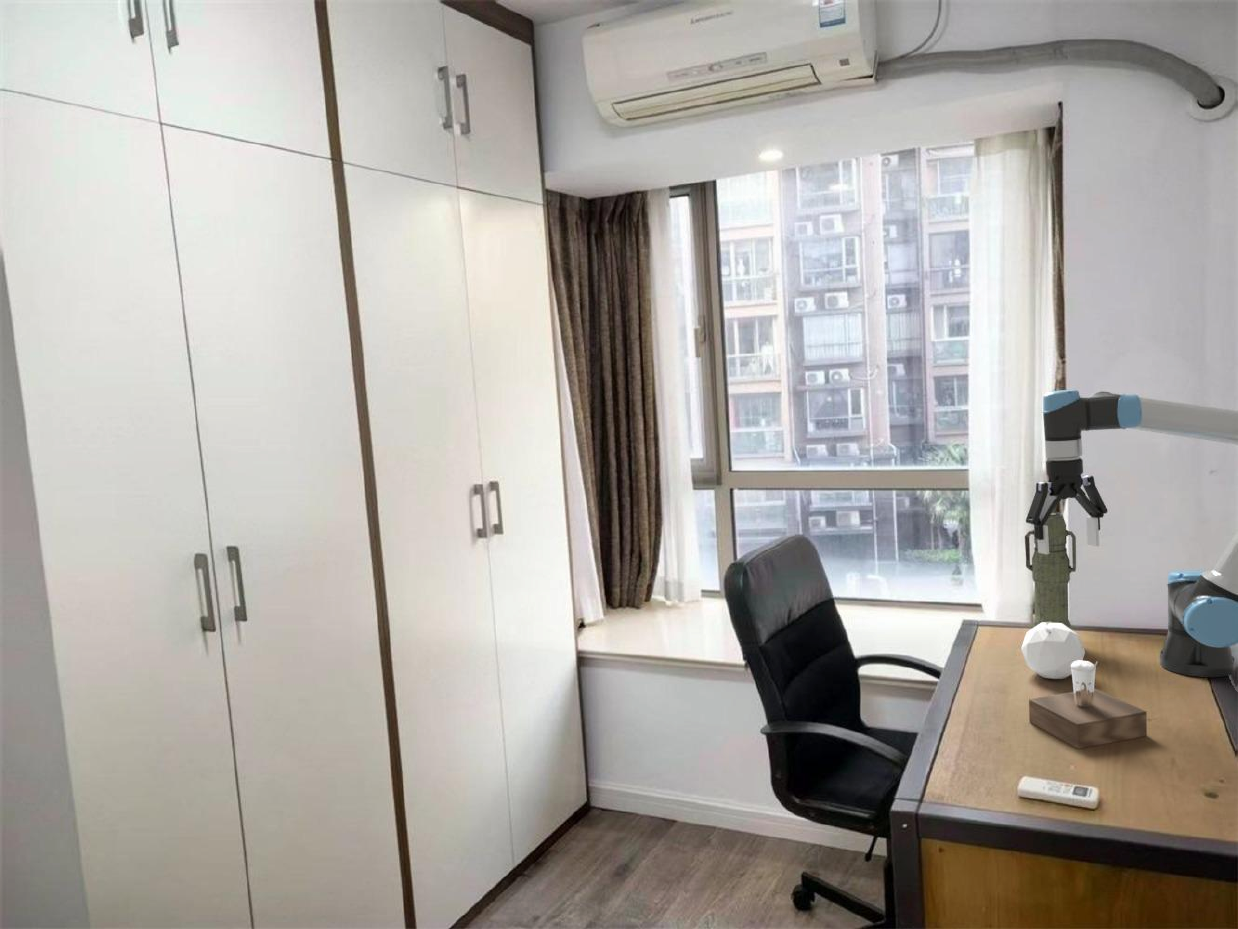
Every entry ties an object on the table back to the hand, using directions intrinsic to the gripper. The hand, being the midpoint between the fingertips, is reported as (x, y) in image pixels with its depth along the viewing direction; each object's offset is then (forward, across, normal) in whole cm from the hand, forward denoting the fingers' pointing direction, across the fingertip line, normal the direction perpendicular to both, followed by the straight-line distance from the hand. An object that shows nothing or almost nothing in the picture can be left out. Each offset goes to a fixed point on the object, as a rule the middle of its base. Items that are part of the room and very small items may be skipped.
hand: (1068, 549), depth 206 cm
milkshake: (+26, +17, +23) cm, 39 cm away
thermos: (+31, -13, -23) cm, 40 cm away
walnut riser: (+31, +17, +23) cm, 42 cm away
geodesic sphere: (+31, +3, -4) cm, 32 cm away
